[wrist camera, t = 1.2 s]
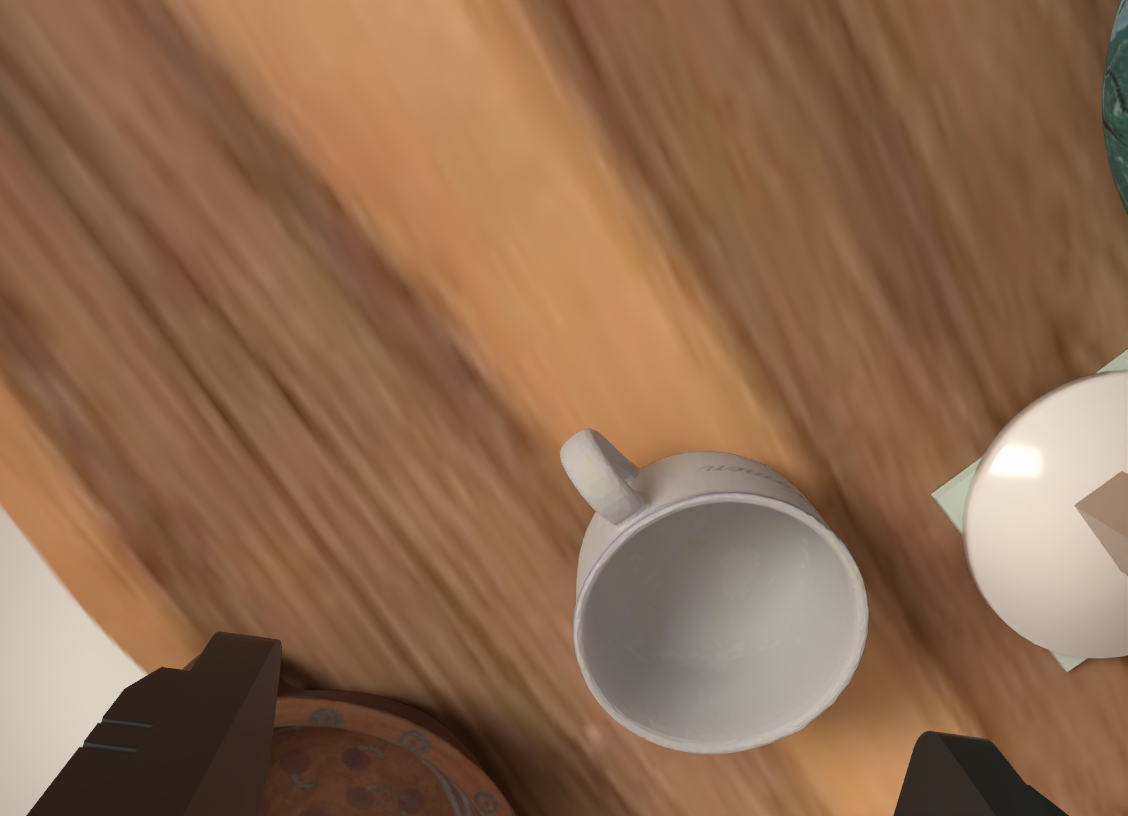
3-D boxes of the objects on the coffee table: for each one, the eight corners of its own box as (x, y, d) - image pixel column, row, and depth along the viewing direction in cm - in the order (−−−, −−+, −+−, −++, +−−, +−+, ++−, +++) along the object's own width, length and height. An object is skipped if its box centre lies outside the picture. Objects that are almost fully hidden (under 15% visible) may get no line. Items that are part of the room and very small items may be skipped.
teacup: (846, 589, 43) (917, 683, 35) (634, 695, 44) (657, 809, 36) (711, 322, 39) (756, 360, 32) (485, 443, 40) (475, 508, 33)
